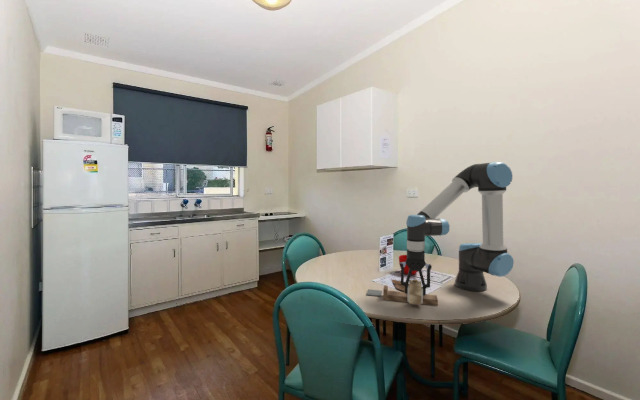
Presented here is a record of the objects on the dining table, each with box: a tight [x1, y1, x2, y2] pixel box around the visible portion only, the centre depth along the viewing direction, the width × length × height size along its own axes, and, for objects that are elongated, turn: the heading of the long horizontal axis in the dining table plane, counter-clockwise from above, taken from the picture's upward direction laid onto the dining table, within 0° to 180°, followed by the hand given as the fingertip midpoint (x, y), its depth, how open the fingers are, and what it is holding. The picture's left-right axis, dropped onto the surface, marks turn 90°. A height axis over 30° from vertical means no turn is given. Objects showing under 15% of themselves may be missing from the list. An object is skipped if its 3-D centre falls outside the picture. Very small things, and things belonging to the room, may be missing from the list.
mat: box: [365, 288, 383, 298], centre depth 144 cm, size 7×7×1 cm
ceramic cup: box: [398, 254, 418, 276], centre depth 176 cm, size 13×17×10 cm
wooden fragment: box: [391, 278, 409, 292], centre depth 154 cm, size 26×11×1 cm, turn 9°
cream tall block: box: [408, 279, 422, 305], centre depth 129 cm, size 5×5×10 cm
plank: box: [382, 285, 439, 306], centre depth 136 cm, size 24×6×5 cm, turn 73°
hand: (414, 301), depth 129 cm, fingers closed on cream tall block, 5 cm apart
